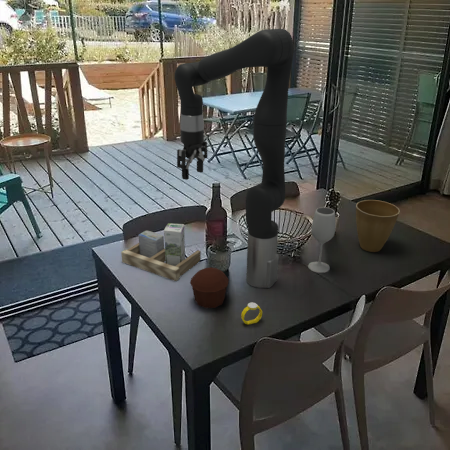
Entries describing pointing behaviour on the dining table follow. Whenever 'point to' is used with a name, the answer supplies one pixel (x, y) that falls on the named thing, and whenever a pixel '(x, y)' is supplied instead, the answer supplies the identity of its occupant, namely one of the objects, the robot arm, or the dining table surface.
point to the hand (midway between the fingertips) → (192, 175)
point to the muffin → (209, 287)
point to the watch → (251, 307)
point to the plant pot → (375, 223)
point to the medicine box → (150, 243)
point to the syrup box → (174, 244)
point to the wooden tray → (159, 263)
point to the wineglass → (322, 234)
